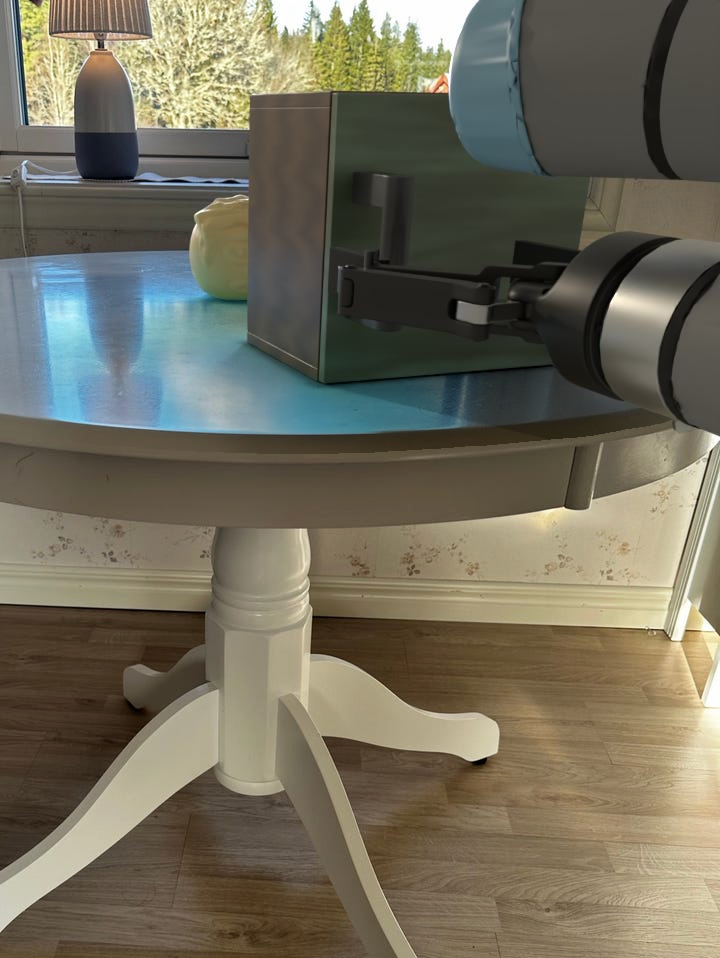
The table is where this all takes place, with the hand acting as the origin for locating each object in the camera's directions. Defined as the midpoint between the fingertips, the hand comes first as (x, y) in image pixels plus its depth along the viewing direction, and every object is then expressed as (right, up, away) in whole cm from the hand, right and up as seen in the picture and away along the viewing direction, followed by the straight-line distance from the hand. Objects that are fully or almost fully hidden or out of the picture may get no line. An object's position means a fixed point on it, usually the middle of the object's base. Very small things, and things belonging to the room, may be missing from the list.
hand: (428, 265), depth 62 cm
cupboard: (+1, +1, +23) cm, 23 cm away
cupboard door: (+5, -4, +13) cm, 15 cm away
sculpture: (-12, +15, +49) cm, 53 cm away
